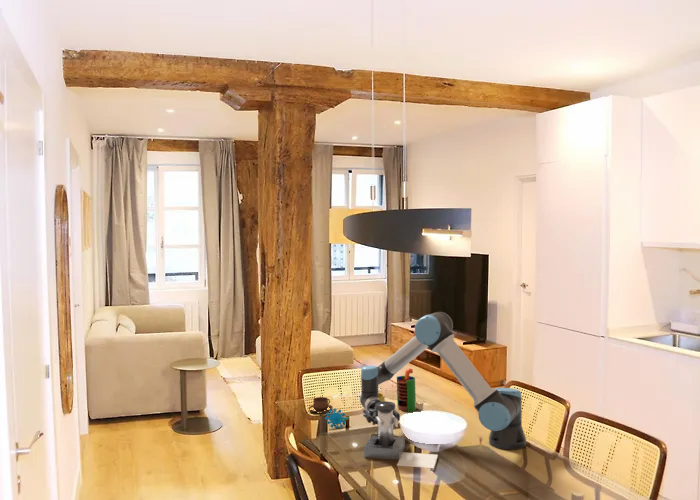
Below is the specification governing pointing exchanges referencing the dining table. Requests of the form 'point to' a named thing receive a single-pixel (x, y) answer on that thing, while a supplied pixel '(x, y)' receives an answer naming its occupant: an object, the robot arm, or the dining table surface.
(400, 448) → the housing
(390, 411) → the flanged shaft
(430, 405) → the dining table surface
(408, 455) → the pad
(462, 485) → the dining table surface
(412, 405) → the motor
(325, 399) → the cup and saucer
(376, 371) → the robot arm
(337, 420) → the gear
